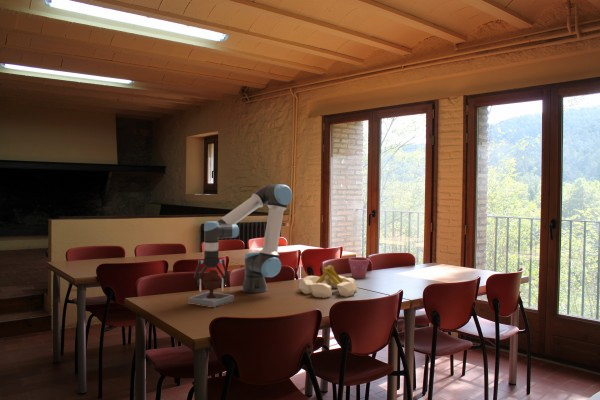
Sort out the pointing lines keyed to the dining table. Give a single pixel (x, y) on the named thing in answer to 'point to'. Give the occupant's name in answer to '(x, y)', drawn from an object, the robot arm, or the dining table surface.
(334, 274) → the campfire
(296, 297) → the dining table surface
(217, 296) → the tray
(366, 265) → the plant pot
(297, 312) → the dining table surface
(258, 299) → the dining table surface
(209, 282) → the brown model tree
